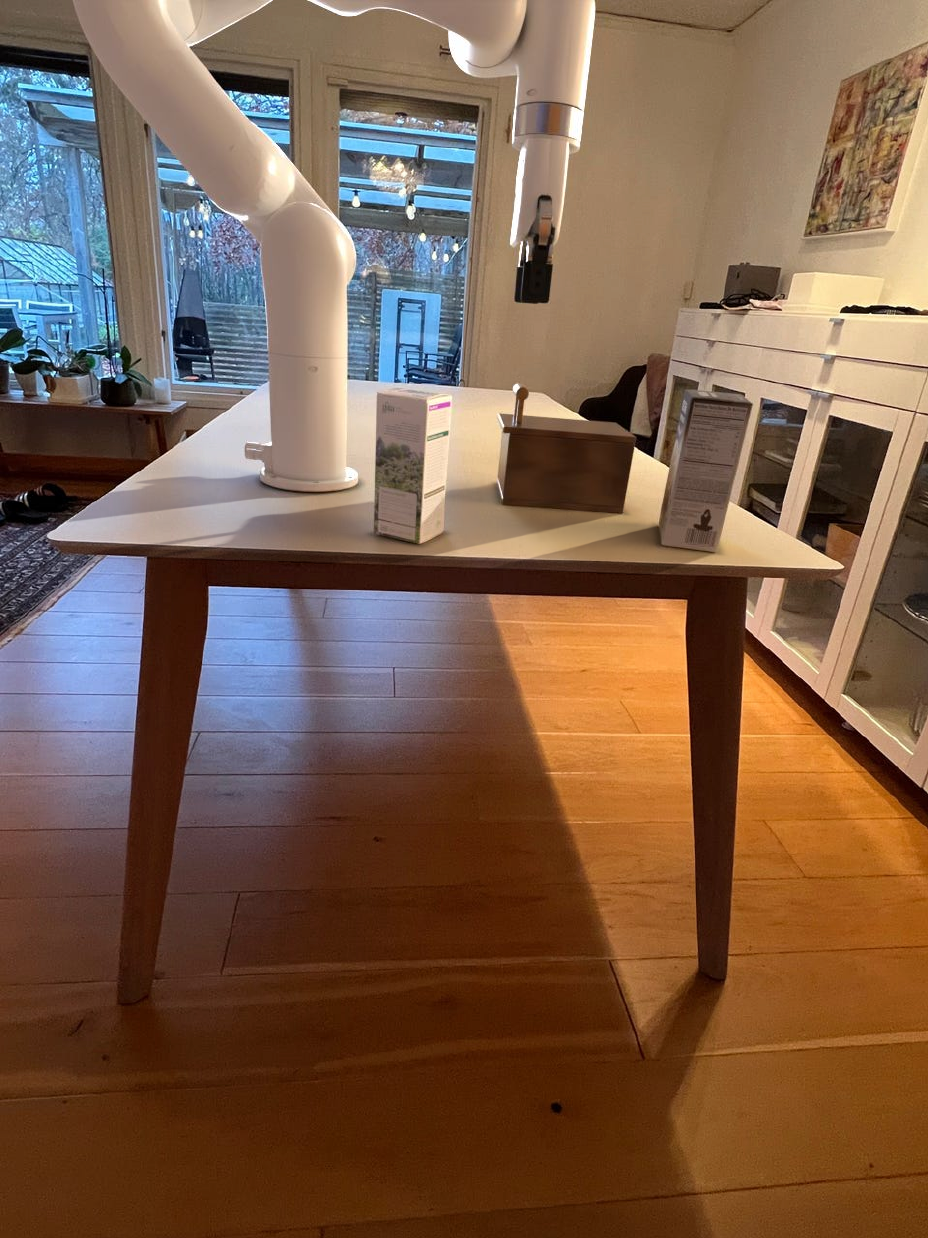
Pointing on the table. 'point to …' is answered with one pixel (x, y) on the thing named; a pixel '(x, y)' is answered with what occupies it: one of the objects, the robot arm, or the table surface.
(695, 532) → the coffee box
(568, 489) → the brown wooden box
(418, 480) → the syrup box
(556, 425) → the lid
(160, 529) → the table surface
